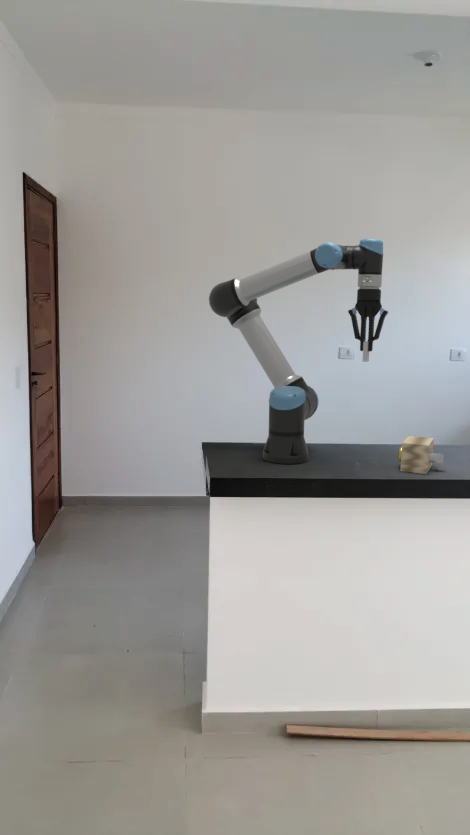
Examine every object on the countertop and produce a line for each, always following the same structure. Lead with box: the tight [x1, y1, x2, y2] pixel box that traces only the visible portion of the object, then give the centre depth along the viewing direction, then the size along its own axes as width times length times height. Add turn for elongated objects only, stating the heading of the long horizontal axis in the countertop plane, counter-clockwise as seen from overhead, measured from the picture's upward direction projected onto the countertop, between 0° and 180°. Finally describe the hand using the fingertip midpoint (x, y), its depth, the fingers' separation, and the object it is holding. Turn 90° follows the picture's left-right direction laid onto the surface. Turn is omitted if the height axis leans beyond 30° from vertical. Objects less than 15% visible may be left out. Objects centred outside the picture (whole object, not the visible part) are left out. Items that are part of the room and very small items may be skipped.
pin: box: [397, 445, 444, 464], centre depth 220 cm, size 14×5×5 cm, turn 67°
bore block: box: [400, 435, 435, 475], centre depth 220 cm, size 8×12×9 cm, turn 157°
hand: (365, 361), depth 229 cm, fingers closed
